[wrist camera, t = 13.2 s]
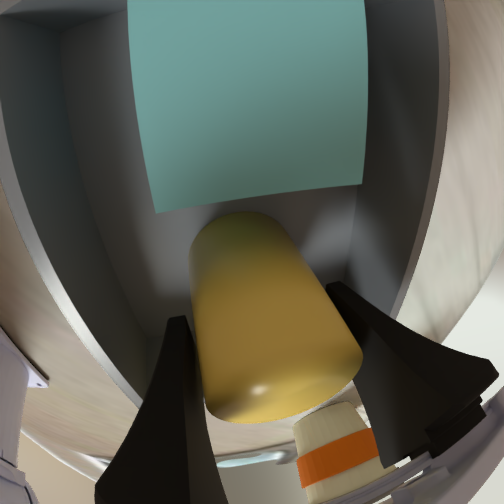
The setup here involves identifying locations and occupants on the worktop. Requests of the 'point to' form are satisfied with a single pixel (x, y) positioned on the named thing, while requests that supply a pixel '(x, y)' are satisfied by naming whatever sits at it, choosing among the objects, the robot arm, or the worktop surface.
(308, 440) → the reusable coffee cup
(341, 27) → the cube
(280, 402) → the cylinder
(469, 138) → the worktop surface
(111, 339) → the tote
